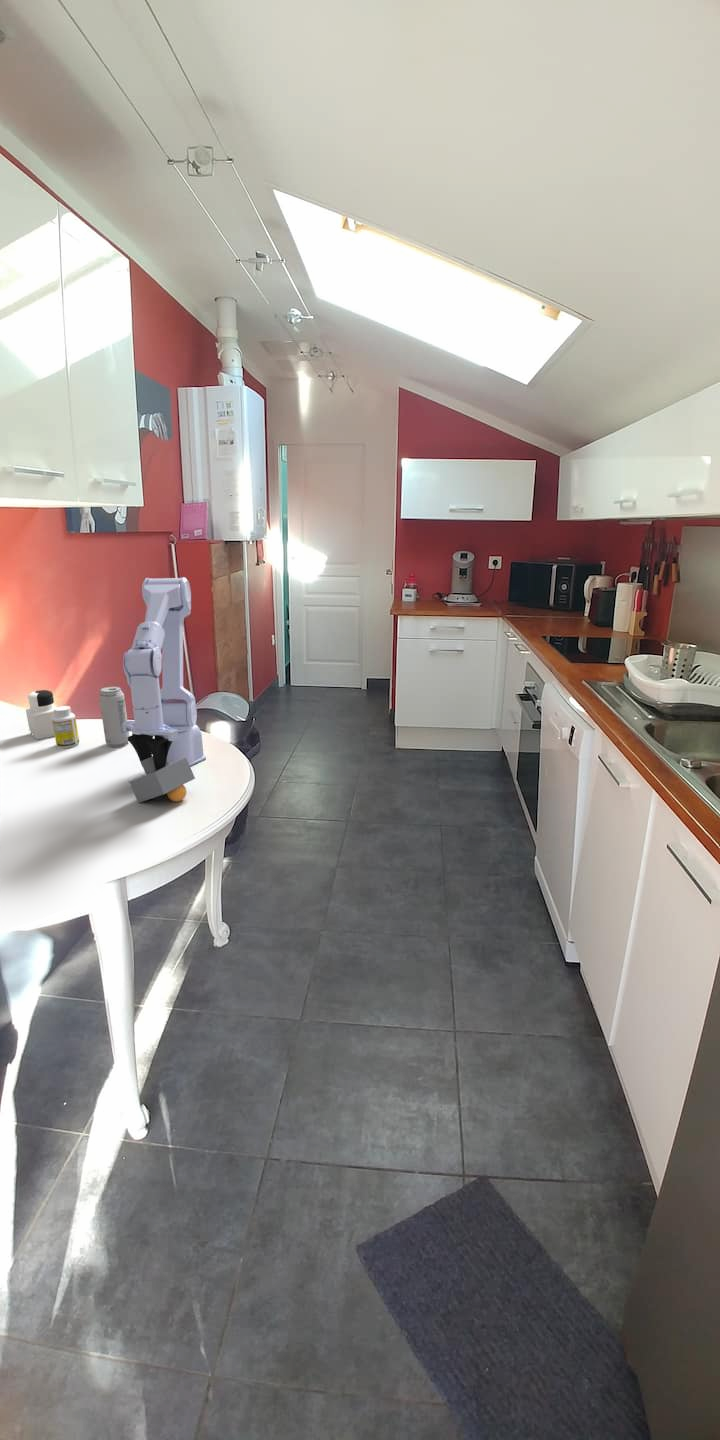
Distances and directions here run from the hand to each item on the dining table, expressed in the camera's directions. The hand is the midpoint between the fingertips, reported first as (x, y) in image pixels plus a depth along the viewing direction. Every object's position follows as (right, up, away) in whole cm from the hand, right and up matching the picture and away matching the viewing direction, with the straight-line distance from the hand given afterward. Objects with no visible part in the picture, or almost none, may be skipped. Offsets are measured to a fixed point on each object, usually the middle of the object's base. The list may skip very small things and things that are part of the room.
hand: (153, 767), depth 144 cm
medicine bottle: (-42, +6, +42) cm, 59 cm away
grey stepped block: (+3, -5, 0) cm, 6 cm away
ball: (+5, -5, -1) cm, 7 cm away
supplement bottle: (-32, +3, +33) cm, 46 cm away
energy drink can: (-19, +4, +33) cm, 39 cm away
